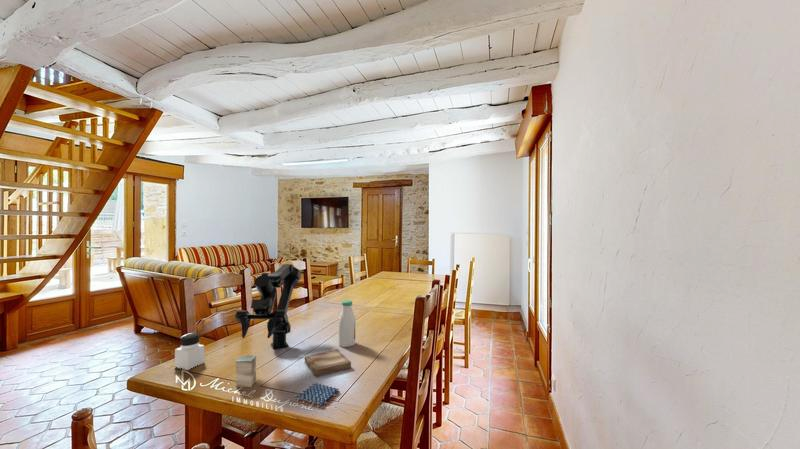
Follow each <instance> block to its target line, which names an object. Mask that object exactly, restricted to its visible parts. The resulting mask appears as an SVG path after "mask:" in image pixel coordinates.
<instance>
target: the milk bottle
mask: <svg viewBox="0 0 800 449" xmlns="http://www.w3.org/2000/svg"><path fill="white" fill-rule="evenodd" d="M341 304H342V305H341V307H342V310H341V312H340V314H339V318H338V342H337V343H338V345H339V347H342V348H349V347H353V346H355V344H356V315H355V313H354V311H353V301H352V300H343V301H342V302H341Z"/></svg>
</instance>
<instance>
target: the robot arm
mask: <svg viewBox="0 0 800 449" xmlns="http://www.w3.org/2000/svg"><path fill="white" fill-rule="evenodd" d="M301 276H302V273H301V272H300V269H299V268H297V267H295V266H294V265H293V264H292V263H284V264H281V266H280V267H278V269H277V270H275V271H274V272H269V273H267V272H262V274H261V275H259V276H258V277H256V278H255V279H254V281H253V284H254V285H255V287H256V289H257V290H256V291H258V293H259V294H260V297H259V298H258V299H255V298H254V299H251V304H250V309H252V311H253V313H250V312H249V311H248V310H243V309H242V310H237V311H236V312H235V314H234V318H235V319H236V320H237V322H238V323H239V324H240V325H241V337H242V339H245V338H246V336H247V333H248V330H249V328H250V322H251V320H268V321H267V323H266V324H267V325H266V326H267V328H266V329H267V332H268V333H267V338H268V339H270V338H271V337H272V342H270V346H271V348H272V349H273V350H276V349H281V348H285V347H286V348H287V347H289V344H288V343H287V334H290V333H291V327H292V325H291V323H290V321H289V317H288V314H287V313H288V309H289V305H290V302H291V298H292V295H293V291H294V288H295V287H296V286H297V285H298V284H299V282H300V280H301V279H302V278H301ZM281 287H282V290H281V293H280V297H279V299H278V300H279V301H278V304H277V307H276V310H274V309H275V305H274V304H275V301H276V298H277V297H278V291H277V289H280V288H281ZM276 288H277V289H276ZM273 310H274V311H273Z"/></svg>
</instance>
